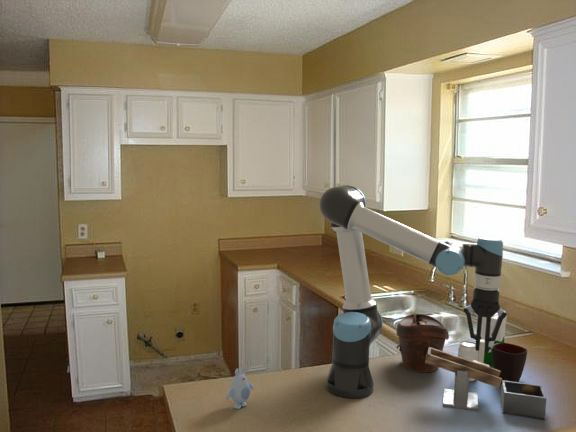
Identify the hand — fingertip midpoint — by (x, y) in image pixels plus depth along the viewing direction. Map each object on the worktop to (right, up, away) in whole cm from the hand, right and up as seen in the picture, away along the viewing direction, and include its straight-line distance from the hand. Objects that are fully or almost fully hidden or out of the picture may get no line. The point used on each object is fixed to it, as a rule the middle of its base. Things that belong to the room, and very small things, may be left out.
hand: (480, 360), depth 171 cm
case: (-13, -8, +24) cm, 29 cm away
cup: (+14, -10, +11) cm, 21 cm away
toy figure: (-75, -11, -11) cm, 76 cm away
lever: (-7, -1, -1) cm, 7 cm away
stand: (-8, -11, -4) cm, 14 cm away
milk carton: (+13, -8, +28) cm, 32 cm away
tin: (+9, -12, -9) cm, 18 cm away
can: (0, -10, +14) cm, 17 cm away
